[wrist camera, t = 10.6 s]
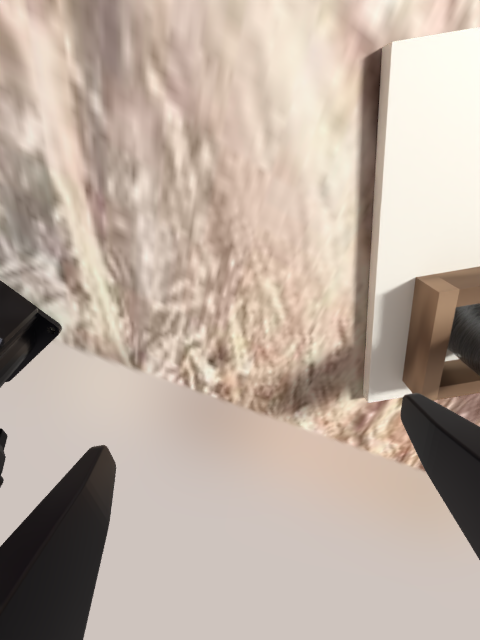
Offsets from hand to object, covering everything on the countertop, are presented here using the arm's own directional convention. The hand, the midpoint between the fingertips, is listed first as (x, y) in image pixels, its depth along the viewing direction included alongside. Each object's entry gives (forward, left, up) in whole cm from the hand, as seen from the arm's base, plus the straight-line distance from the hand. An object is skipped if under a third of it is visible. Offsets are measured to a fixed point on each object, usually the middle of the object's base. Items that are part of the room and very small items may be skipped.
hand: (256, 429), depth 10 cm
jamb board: (+13, -10, -13) cm, 21 cm away
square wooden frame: (+10, -14, -12) cm, 21 cm away
